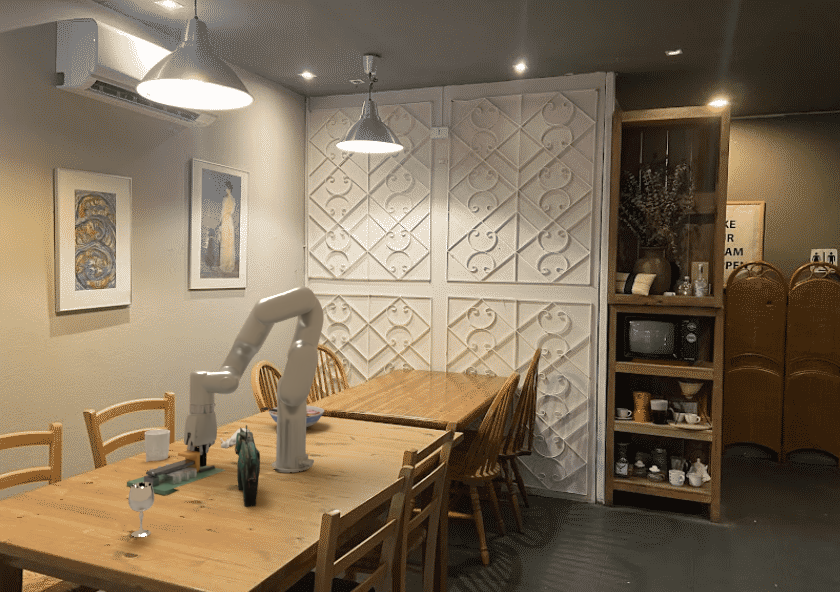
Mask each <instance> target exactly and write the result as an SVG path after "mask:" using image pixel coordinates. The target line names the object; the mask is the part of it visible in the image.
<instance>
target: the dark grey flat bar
mask: <svg viewBox="0 0 840 592" xmlns="http://www.w3.org/2000/svg"><path fill="white" fill-rule="evenodd" d="M168 464H169V465H166V464H165V465H164V466H162V467H159V466H158V467H159V468H158V467H157V468H152V469H153V470H150V469H149V470H147V471H146V472H145V476H146V475H151V476H155V477H156V476H159V475H162V474H165V473H168V472H171V471H174V470H178V469H181V468H184V467H187V466H190V465H193V464H195V461H194V460H189V459H186V460H185V459H184V460H180V461H176V462H172V463H168Z"/></svg>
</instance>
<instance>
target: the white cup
mask: <svg viewBox="0 0 840 592" xmlns="http://www.w3.org/2000/svg"><path fill="white" fill-rule="evenodd" d="M170 436H171V430H169V429H164V428H160V429H157V428H156V429H151V430H147V431H144V448H145V450H144V451H145V463H148V462H151V461H153V462H156V461H157V462H159V461H164V460H166V459H168V457H169V452H170V439H171V437H170Z"/></svg>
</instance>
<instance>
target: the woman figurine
mask: <svg viewBox="0 0 840 592" xmlns="http://www.w3.org/2000/svg"><path fill="white" fill-rule="evenodd" d="M241 428H242V430H243V431H244V432H246V427H241ZM247 432H251V431H250V429H249V428H247ZM237 433H240V428H238V429H237V430H236V431H235V432H234V433H233V434H232V435H231V436H230V438H229V437H227V438H226V439H225V440H224V439H223V438H222V437H221V438H219V439H220V441H221V442H222V443H221V444H220V448H222V449H228V447H230V446H234V445H236V437H237Z"/></svg>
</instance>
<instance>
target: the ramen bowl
mask: <svg viewBox="0 0 840 592" xmlns="http://www.w3.org/2000/svg"><path fill="white" fill-rule="evenodd" d="M260 410H263V411H268V413H269V415H270V417H271V419H272V420H273V421H274V422H275V423H276V424H277V406H276V407H273V408H271V407H267V406H264V407H261V408H260ZM324 413H325V409H324V408H322V407H318V406H314V405H306V428H308V427H311V426H313V425H315V424H317V422H318V421H319V420H320V419H321V417H322V416H323V415H324Z"/></svg>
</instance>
